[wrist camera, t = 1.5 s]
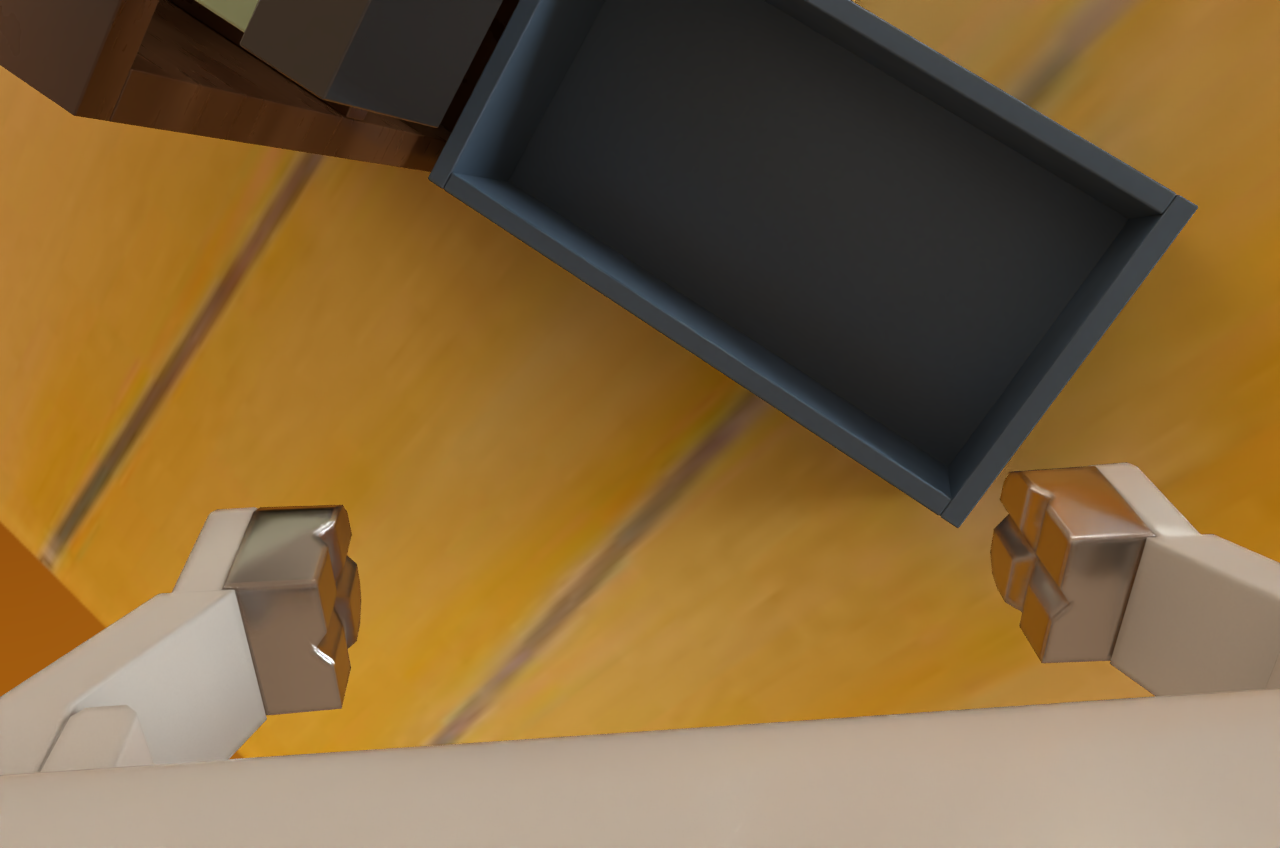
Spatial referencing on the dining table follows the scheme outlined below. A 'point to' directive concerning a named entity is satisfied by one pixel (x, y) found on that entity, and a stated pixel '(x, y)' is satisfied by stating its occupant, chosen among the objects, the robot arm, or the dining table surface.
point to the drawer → (367, 48)
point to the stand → (204, 79)
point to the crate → (816, 216)
